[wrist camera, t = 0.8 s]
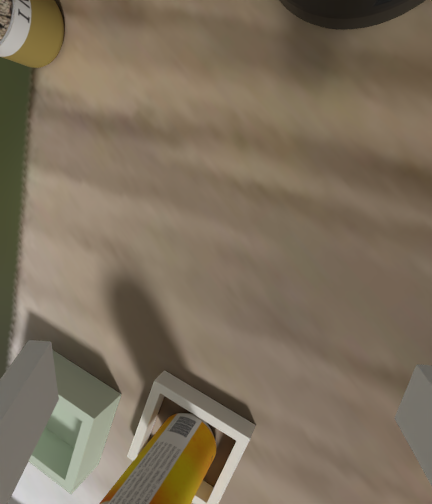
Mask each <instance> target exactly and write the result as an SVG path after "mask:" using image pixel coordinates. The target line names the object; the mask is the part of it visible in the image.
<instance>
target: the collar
mask: <svg viewBox="0 0 432 504" xmlns="http://www.w3.org/2000/svg"><path fill="white" fill-rule="evenodd" d="M164 397H167V398H169V399H170V400H172V401H173V402H175V403H177V404H178V405H180V406H181V407H183V408H185V409H186V410H188V411H189V412H191V413H193V414H194V415H196V416H197V417H199V418H201V419H202V420H204V421H205V422H207V423H209V424H210V425H212V426H213V427H215V428H217V429H218V430H220V431H221V432H223V433H225V434H226V435H228V436H229V437H231V438H233V439H234V440H236V443H235V445H234V447H233V449H232V451H231V453H230V455H229V457H228V459H227V461H226V464H225V466H224V468H223V470H222V472H221V474H220V476H219V478H218V480H217V482H216V484H215V486H214V487H213V486H211V485H210V484H208V483H207V482H205V481H204V480H203V481H202V483H201V485H200V487H199V489H198V490H197V492H196V494H195V496H194V498H193V500H192V502H193V503H194V504H218V503H219V501H220V499H221V497H222V495H223V493H224V491H225V489H226V487H227V485H228V483H229V481H230V479H231V477H232V475H233V473H234V471H235V469H236V467H237V465H238V463H239V461H240V459H241V457H242V455H243V453H244V450H245V448H246V446H247V444H248V442H249V440H250V438H251V436H252V433H253V431H254V429H255V426H256V425H255V424H253V423H251V422H250V421H248V420H246V419H245V418H243V417H241V416H240V415H238V414H236V413H235V412H233V411H231V410H230V409H228V408H226V407H225V406H223V405H221V404H220V403H218V402H216V401H215V400H213V399H211V398H210V397H208V396H206V395H205V394H203V393H202V392H200V391H198V390H197V389H195V388H193V387H192V386H190V385H188V384H187V383H185V382H183V381H182V380H180V379H178V378H177V377H175V376H173V375H172V374H170V373H168V372H167V371H165V370H164V371H163V372H162V373H161V374H160V375H159V376H158V377H157V378H156V379H155V380H154V383H153V385H152V388H151V391H150V394H149V397H148V399H147V402H146V405H145V408H144V411H143V413H142V416H141V419H140V422H139V425H138V427H137V430H136V433H135V436H134V439H133V441H132V444H131V447H130V450H129V453H128V455H127V457H128V458H130V459H131V460H133V461H134V460H135V459H136V457H137V456H138V455H139V453H140V452H141V451H142V450H143V448H144V447H145V446H146V445H147V442H148V439H149V437H150V434H151V431H152V429H153V426H154V423H155V421H156V418H157V415H158V413H159V410H160V407H161V405H162V402H163V399H164Z"/></svg>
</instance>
